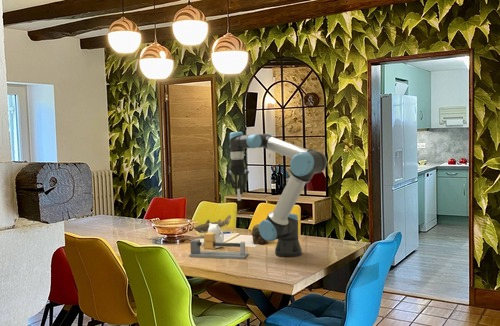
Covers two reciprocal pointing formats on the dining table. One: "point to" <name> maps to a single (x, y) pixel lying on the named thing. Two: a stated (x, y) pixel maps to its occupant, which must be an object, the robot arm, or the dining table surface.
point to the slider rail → (217, 254)
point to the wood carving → (204, 227)
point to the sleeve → (209, 241)
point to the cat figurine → (216, 233)
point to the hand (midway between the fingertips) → (239, 200)
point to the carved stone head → (257, 236)
